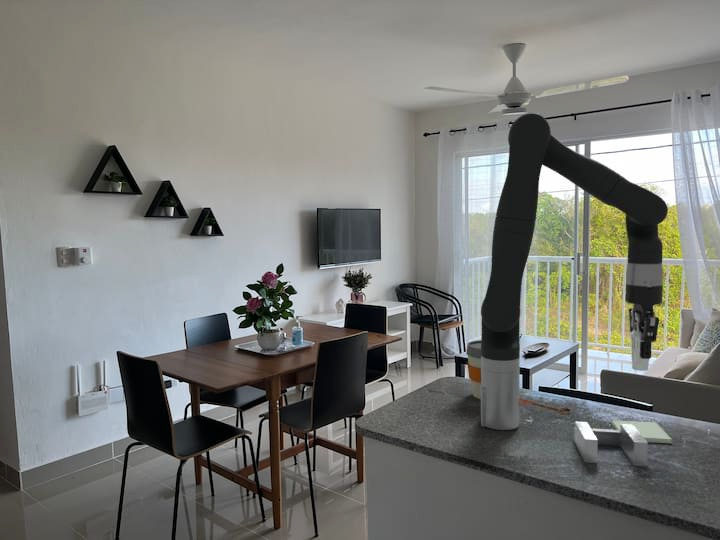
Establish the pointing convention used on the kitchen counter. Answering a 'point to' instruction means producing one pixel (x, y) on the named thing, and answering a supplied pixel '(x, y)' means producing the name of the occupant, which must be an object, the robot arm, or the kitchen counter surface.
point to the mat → (646, 430)
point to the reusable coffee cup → (474, 366)
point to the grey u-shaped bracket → (610, 442)
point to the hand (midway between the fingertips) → (641, 355)
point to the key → (527, 403)
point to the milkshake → (637, 352)
